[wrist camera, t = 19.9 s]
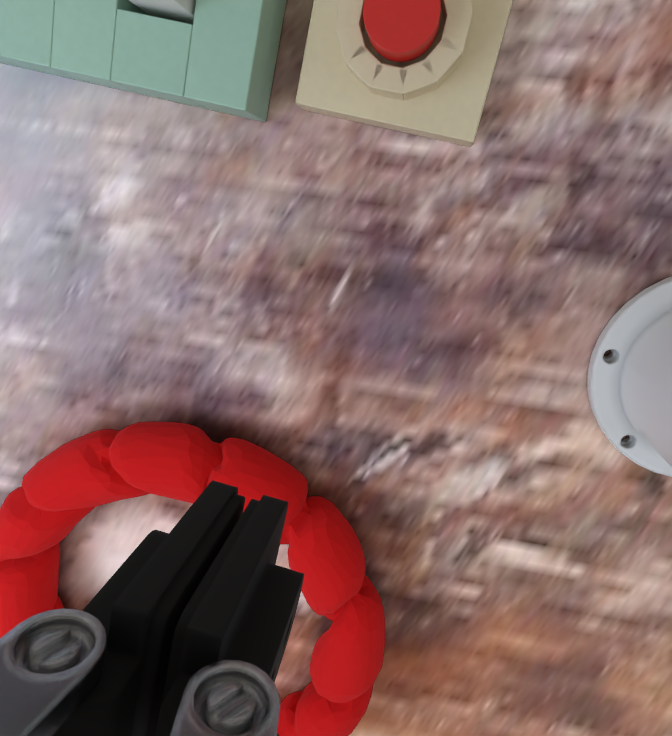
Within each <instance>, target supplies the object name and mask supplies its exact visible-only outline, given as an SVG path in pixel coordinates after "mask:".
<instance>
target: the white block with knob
mask: <svg viewBox="0 0 672 736" xmlns="http://www.w3.org/2000/svg"><path fill="white" fill-rule="evenodd" d="M129 1H130V2H132V3H133V4H135V5H136V6H137V7H139V8H140V9H142V10H143V11H144V12H146V13H147V14H149V15H150V16H155V17H160V18H165V19H169V20H174V21H179V22H183V23H188V24H192V25H193V22H194V14H195V6H196V0H129Z"/></svg>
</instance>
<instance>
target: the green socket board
mask: <svg viewBox="0 0 672 736" xmlns="http://www.w3.org/2000/svg"><path fill="white" fill-rule="evenodd" d="M286 1H287V0H196V6H195V14H194V22H193V25H192V24H188V23H183V22H179V21H174V20H169V19H165V18H160V17H155V16H150V15H149V14H147V13H146V12H144V11H143V10H142V9H140V8H139V7H137V6H136V5H135V4H133V3H132V2H130V1H129V0H0V63H4V64H8V65H12V66H17V67H21V68H26V69H30V70H35V71H39V72H44V73H48V74H53V75H57V76H61V77H66V78H70V79H75V80H79V81H84V82H88V83H93V84H97V85H102V86H106V87H110V88H115V89H119V90H124V91H128V92H133V93H137V94H142V95H146V96H151V97H155V98H160V99H164V100H168V101H173V102H177V103H182V104H186V105H191V106H195V107H200V108H204V109H210V110H213V111H217V112H222V113H226V114H231V115H235V116H240V117H244V118H249V119H253V120H258V121H262V122H266V118H267V113H268V107H269V101H270V95H271V89H272V83H273V77H274V71H275V65H276V60H277V54H278V48H279V42H280V36H281V30H282V24H283V18H284V13H285V7H286Z"/></svg>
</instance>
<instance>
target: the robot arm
mask: <svg viewBox="0 0 672 736" xmlns="http://www.w3.org/2000/svg"><path fill="white" fill-rule="evenodd" d="M607 350H610V351H611V354H610V355H609V356H607V357H604V353H605V352H606V351H607ZM587 392H588V397H589V401H590V406H591V410H592V412H593V415H594V417H595V419H596V421H597V423H598V426H599V427H600V429H601V430H602V431H603V433H604V434H605V435H606V437H607V438H608V440H609V441H610V442H611V443H612V444H613V445H614V446H615V447H616V449H617V450H618V451H619V452H621V453H622V454H623V455H625V456H626V457H627V458H629V459H630V460H632V461H633V462H634V463H636V464H638V465H640V466H642V467H644V468H646V469H648V470H650V471H653V472H655V473H659V474H663V475H666V476H670V477H672V277H668V278H666V279H664V280H662V281H660V282H658V283H656V284H654V285H652V286H650V287H648V288H646V289H644V290H643V291H641V292H640V293H639V294H637V295H636V296H634V297H633V298H632V299H630V300H629V301H628V302H626V303H625V304H624V305H623V307H622V308H621V309H620V310H619V311H618V312H617V313H616V314H615V315H614V316H613V317H612V318H611V319H610V321H609V322H608V324H607V325H606V327H605V328H604V330H603V331H602V333H601V334H600V336H599V338H598V340H597V343H596V345H595V347H594V350H593V352H592V354H591V359H590V364H589V368H588V373H587ZM626 435H628V437H627V438H626V439H622V438H623V437H624V436H626ZM244 504H245V497H244V496H241V495H238V487H235V486H231V485H228V484H224V483H221V482H217V481H211V482H210V483H209V485H208V486H207V487H206V488H205V490H204V491H203V492H202V493H201V495H200V496H199V497H198V498H197V500H196V501H195V502H194V503H193V505H192V506H191V507H190V508H189V510H188V511H187V512H186V513H185V515H184V516H183V517H182V518H181V520H180V521H179V522H178V523H177V525H176V526H175V527H174V528H173V530H172V531H171V532H170V533H169V534H168V533H165V532H161V531H158V530H154V531H152V532H151V533H150V534H148V535H147V537H146V538H145V539H144V540H143V541H142V542H141V544H140V545H139V546H138V547H137V548H136V549H135V550H134V552H133V553H132V554H131V555H130V556H129V557H128V559H127V560H126V561H125V562H124V563H123V564H122V566H121V567H120V568H119V569H118V570H117V571H116V572H115V574H114V575H113V576H112V577H111V578H110V579H109V581H108V582H107V583H106V584H105V585H104V586H103V588H102V589H101V590H100V591H99V592H98V593H97V594H96V596H95V597H94V598H93V599H92V600H91V601H90V603H89V604H88V605H87V606H86V607H85V608H84V610H83V611H80V610H77V609H55V610H48V611H44V612H42V613H39V614H36V615H33V616H31V617H29V618H28V619H26V620H24V621H23V622H21V623H20V624H18V625H17V626H15V627H14V628H13V629H12V630H10V631H9V632H8V633H7V634H5V635H4V636H3V637H1V638H0V736H279V734H278V733H277V729H278V721H279V712H280V698H279V693H278V690H277V688H276V685H275V683H274V682H275V679H276V676H277V673H278V669H279V666H280V663H281V660H282V657H283V654H284V651H285V648H286V645H287V641H288V638H289V635H290V631H291V628H292V624H293V620H294V617H295V613H296V609H297V605H298V601H299V597H300V593H301V589H302V585H303V580H304V573H300V572H297V571H293V570H290V569H287V568H283V567H280V566H277V565H275V563H276V559H277V555H278V550H279V546H280V541H281V537H282V532H283V528H284V523H285V519H286V514H287V510H288V502H287V501H284V500H280V499H277V498H273V497H270V496H266V495H263V496H262V498H261V499H260V501H259V500H255V499H251V501H250V502H249V504H248V505H247V507H246V509H245V510H244ZM243 510H244V512H243Z"/></svg>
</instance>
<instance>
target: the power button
mask: <svg viewBox="0 0 672 736" xmlns="http://www.w3.org/2000/svg"><path fill="white" fill-rule="evenodd" d="M440 12H441V0H365V1H364V6H363V19H364V24H365V28H366V31H367V34H368V37H369V40H370V42H371V44H372V46H373V47H374V49H375V50H376V51H377V52H378V53H379V54H380V55H381V56H383V57H384V58H386V59H388V60H391V61H395V62H406V61H410V60H413V59H415V58H417V57H419V56H421V55H422V54H423V53H424V52H426V51H427V50H428V48H429V47H430V46H431V45H432V43H433V41H434V40H435V38H436V35H437V33H438V29H439V24H440Z"/></svg>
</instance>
